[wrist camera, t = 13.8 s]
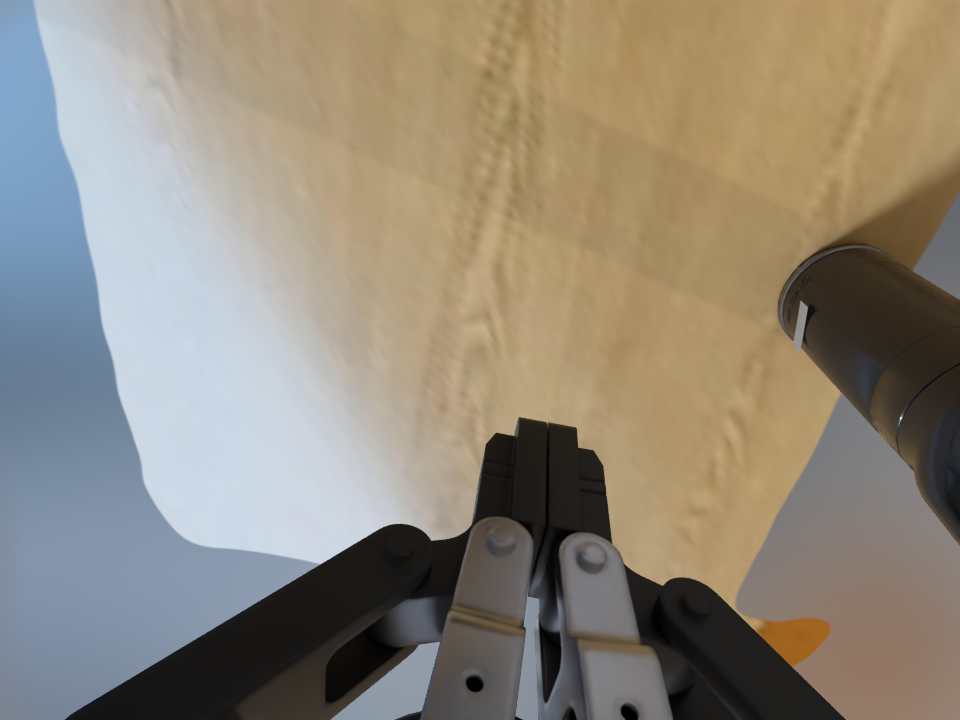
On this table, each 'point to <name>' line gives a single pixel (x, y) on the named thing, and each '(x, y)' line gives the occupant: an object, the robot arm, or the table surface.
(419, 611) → the robot arm
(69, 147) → the table surface
